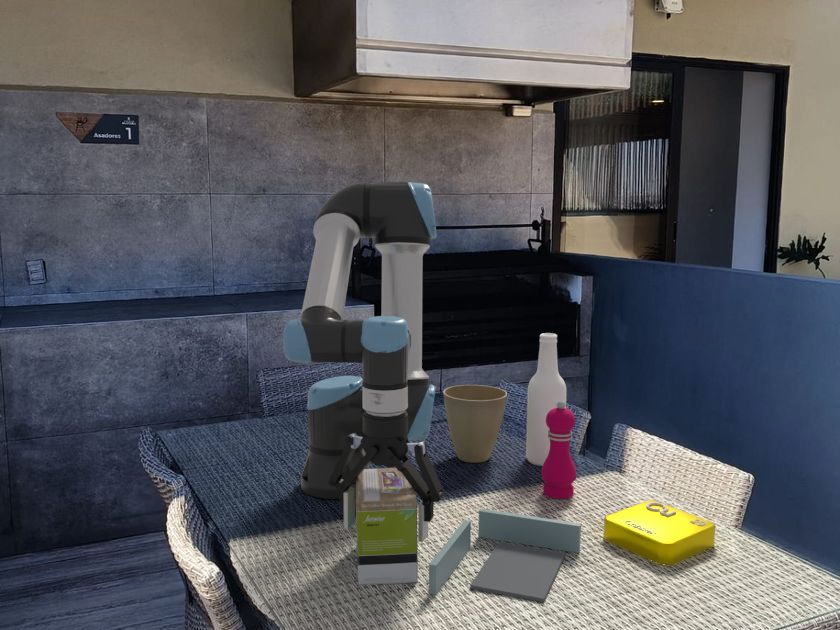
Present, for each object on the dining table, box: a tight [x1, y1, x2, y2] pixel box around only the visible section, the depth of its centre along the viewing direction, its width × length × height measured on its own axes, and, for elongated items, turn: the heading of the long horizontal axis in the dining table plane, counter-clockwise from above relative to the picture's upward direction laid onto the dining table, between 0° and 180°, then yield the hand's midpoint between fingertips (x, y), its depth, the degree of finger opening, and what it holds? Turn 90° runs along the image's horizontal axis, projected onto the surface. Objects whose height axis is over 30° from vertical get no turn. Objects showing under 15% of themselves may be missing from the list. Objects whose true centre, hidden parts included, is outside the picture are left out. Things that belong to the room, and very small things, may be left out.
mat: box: [469, 541, 566, 603], centre depth 137 cm, size 12×17×1 cm
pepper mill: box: [540, 401, 577, 500], centre depth 169 cm, size 7×7×20 cm
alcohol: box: [525, 332, 567, 467], centre depth 188 cm, size 9×9×30 cm
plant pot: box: [442, 384, 508, 464], centre depth 191 cm, size 15×15×16 cm
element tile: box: [603, 499, 716, 566], centre depth 148 cm, size 15×15×5 cm
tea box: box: [355, 467, 419, 586], centre depth 138 cm, size 15×10×15 cm
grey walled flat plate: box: [428, 508, 582, 596], centre depth 136 cm, size 20×24×5 cm
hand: (385, 532), depth 138 cm, fingers open, 13 cm apart
